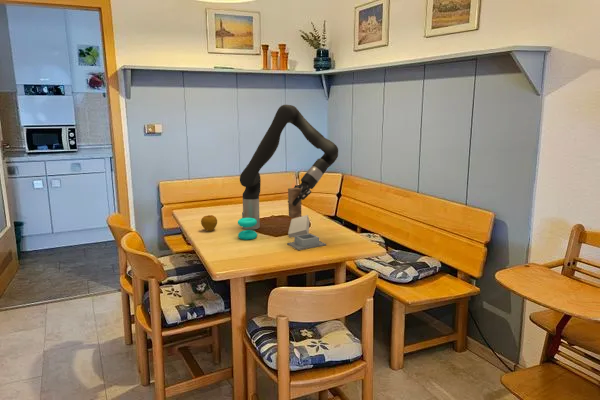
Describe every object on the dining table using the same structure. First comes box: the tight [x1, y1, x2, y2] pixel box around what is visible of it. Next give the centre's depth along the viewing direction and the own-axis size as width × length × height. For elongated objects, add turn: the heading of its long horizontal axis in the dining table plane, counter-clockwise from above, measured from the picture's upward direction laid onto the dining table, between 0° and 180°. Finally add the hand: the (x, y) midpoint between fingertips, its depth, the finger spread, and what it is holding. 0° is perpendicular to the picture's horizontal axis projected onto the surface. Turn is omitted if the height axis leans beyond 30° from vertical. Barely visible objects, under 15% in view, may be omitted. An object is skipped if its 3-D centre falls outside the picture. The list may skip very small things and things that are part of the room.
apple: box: [200, 214, 218, 232], centre depth 254 cm, size 9×9×9 cm
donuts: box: [237, 217, 258, 241], centre depth 240 cm, size 10×10×10 cm
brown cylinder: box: [287, 187, 303, 219], centre depth 226 cm, size 5×4×14 cm
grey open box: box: [287, 232, 327, 251], centre depth 228 cm, size 16×11×4 cm
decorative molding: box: [287, 214, 310, 238], centre depth 258 cm, size 34×5×10 cm
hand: (291, 203), depth 225 cm, fingers closed on brown cylinder, 4 cm apart
